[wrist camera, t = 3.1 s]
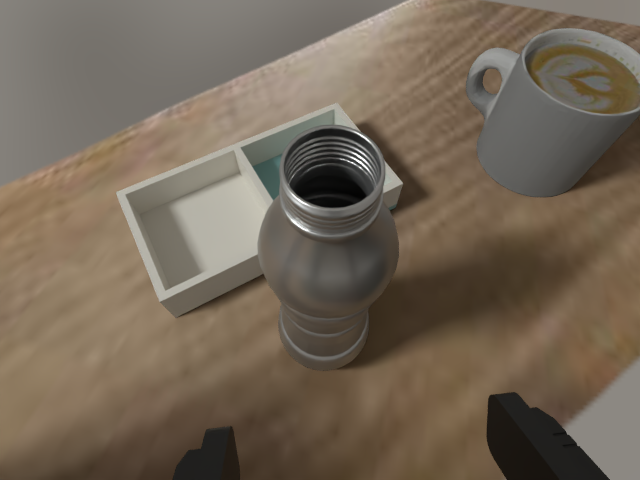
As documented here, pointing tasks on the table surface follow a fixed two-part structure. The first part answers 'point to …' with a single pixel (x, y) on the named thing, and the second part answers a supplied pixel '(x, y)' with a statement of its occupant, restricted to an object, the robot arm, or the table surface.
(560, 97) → the coffee mug
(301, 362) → the grey metal bottle
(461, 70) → the table surface
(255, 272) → the divided tray
